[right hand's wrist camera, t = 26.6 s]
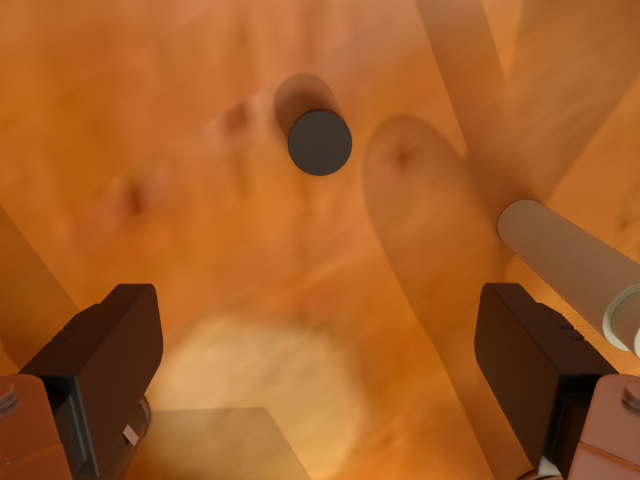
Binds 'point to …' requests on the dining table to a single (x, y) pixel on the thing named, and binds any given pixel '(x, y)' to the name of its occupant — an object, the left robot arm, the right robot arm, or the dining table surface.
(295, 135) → the lid
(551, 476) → the left robot arm
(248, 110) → the dining table surface
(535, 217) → the jar
